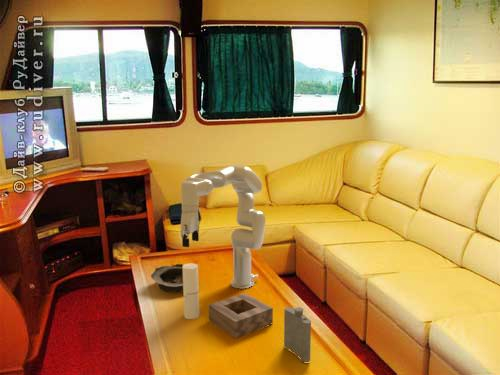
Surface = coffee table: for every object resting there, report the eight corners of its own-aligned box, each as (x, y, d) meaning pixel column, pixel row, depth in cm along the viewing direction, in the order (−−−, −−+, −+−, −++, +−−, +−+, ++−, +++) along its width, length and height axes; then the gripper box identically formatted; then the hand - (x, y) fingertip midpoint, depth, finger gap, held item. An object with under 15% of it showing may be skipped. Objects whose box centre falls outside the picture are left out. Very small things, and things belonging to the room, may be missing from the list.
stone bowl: (156, 277, 283) (157, 262, 281) (200, 281, 283) (201, 265, 281) (146, 295, 259) (147, 278, 257) (194, 299, 259) (195, 282, 257)
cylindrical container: (196, 319, 234) (195, 269, 229) (182, 318, 235) (180, 268, 230) (201, 312, 241) (199, 263, 235) (187, 311, 242) (185, 262, 237)
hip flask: (282, 346, 210) (283, 302, 206) (290, 343, 212) (291, 300, 208) (305, 364, 197) (306, 318, 193) (313, 361, 199) (314, 315, 195)
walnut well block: (244, 308, 246) (244, 292, 244) (272, 324, 229) (272, 308, 228) (209, 320, 233) (208, 304, 231) (235, 338, 217) (235, 321, 215)
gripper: (191, 203, 238) (191, 237, 242) (173, 211, 222) (174, 248, 226) (205, 204, 236) (205, 239, 239) (188, 213, 220) (189, 250, 223)
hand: (190, 243), depth 232 cm, fingers open, 9 cm apart
